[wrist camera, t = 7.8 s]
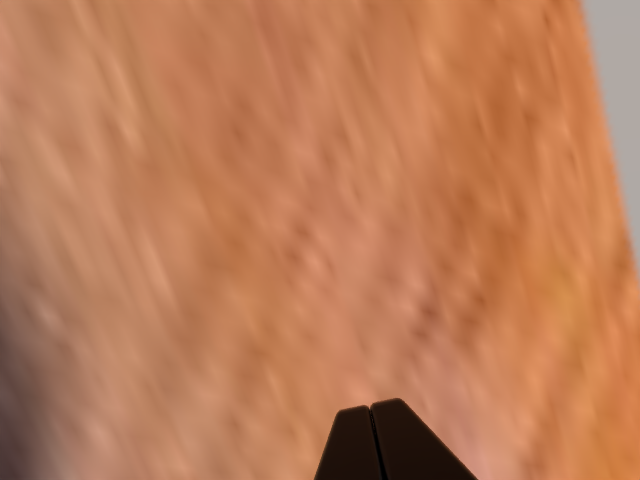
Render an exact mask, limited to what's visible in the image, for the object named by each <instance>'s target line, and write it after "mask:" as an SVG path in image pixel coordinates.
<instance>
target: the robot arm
mask: <svg viewBox="0 0 640 480" xmlns="http://www.w3.org/2000/svg"><path fill="white" fill-rule="evenodd" d="M370 411H371V413H370ZM371 416H372V417H371ZM372 420H373V421H372ZM373 425H374V426H373ZM374 429H375V430H374ZM314 480H478V479H477V478H476V477H475V476H474V475H473V474H472V473H471V471H470V470H469V469H468V468H467V467H466V466H465V465H464V464H463V463H462V462H461V461H460V460H459V459H458V458H457V457H456V456H455V455H454V454H453V452H452V451H451V450H450V449H449V448H448V447H447V446H446V445H445V444H444V443H443V442H442V441H441V440H440V439H439V438H438V437H437V436H436V434H435V433H434V432H433V431H432V430H431V429H430V428H429V427H428V426H427V425H426V424H425V423H424V422H423V421H422V420H421V419H420V418H419V416H418V415H417V414H416V413H415V412H414V411H413V410H412V409H411V408H410V407H409V406H408V405H407V404H406V403H405V402H404V401H403V400H402V399H400V398H393V399H389V400H384V401H380V402H375V403H373V404H372V405H371V407H370V409H369V407H368V406H366V405H361V406H357V407H352V408H347V409H343V410H340V411H339V412H338V413H337V414H336V417H335V419H334V422H333V425H332V428H331V431H330V434H329V437H328V440H327V443H326V445H325V448H324V451H323V454H322V457H321V460H320V463H319V466H318V469H317V472H316V475H315V478H314Z"/></svg>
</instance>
